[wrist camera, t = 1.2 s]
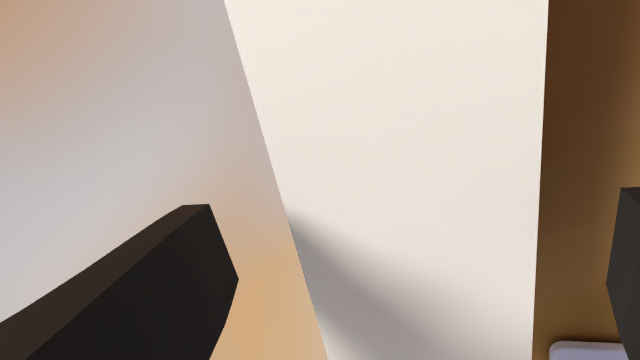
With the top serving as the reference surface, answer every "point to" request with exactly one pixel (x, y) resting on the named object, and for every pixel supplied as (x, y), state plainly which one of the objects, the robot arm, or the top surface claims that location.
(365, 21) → the board
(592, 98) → the top surface
